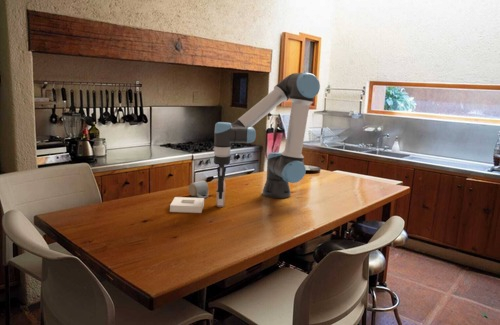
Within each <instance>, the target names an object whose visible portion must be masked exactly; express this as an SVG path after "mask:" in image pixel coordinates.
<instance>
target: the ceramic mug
mask: <svg viewBox="0 0 500 325" xmlns="http://www.w3.org/2000/svg"><path fill="white" fill-rule="evenodd" d="M188 193H189V195H190V196H191V197H192V198H204V200H206V199H207V198H208V197H209V185H208V182H207V181H205V180H199V181H195V182H192V183H190V184H189V186H188Z"/></svg>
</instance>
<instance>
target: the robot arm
mask: <svg viewBox="0 0 500 325" xmlns="http://www.w3.org/2000/svg"><path fill="white" fill-rule="evenodd" d="M320 89H321V84H320V80H319V79H318V77H317V76H316V75H315V74H313V73H310V72H294V73H291V74H289V75H287V76H286V77H284V78H283V79H282V80H280V82H278V83H277V84H276V85H274V87H273V89H272V91H270V92H269V93H268V94H267V95H266V96H264V97H263V98H261V99H260V101H258V102H257V103H255V105H253V106H252V107H251V108H250V109H249V110H247V111H246V112H245V113H244V114H242V115H241V116H240V117H238V118H237V119H236V120H235V121H234V122H232V123H231V122H224V121H218V122H216V123H215V125H214V144H213V145H214V147H213V148H212V150H213V151H214V152H213V154H214V156H213V164H215V165H218V166H217V167H216V172H217V181H218V191H217V190H216V193H217V192H218V200H217V205H223V194H224V190H223V185H224V181H225V177H226V170H227V167H225V166H227V165H230V163H231V157H230V156H231V146H232V145H231V144H239V143H241V144H249V143H254V142H255V140H256V138H257V133H256V129H255V127H254V126H255V125H256V124H257V123H259V121H261V120H262V119H263V118H264V117H266V116H267V115H268V114H269V113H271V112H272V111H273V110H274V109H275V108H277V107H278V106H279V105H280V104H281V103H282V102H288V100H290V102H291V107H290V115H289V119H288V120H289V121H288V127H287V132H286V133H287V134H286V138H285V139H286V140H285V144H284V151H282V152H269V153H268V154H267V159H266V160H267V161H266V162H267V163H266V181H265V183H264V186H263V188H262V195H263V196H265V197H267V198H273V199H285V198H290V197H291V196H292V195H291V194H292V191H291V188H290V184H296V183H298V182H301V181H302V179H303V178H304V177H305V175H306V172H307V169H306V166H305V163H304V159H305V156H304V154H302V152H303V148H304V147H303V145H304V141H305V140H304V139H305V134H306V128H307V121H308V116H309V111H310V106H311V105H312V104H313V103H314V100H315V97H316V96H317V95H318V94H319V92H320Z"/></svg>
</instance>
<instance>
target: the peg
mask: <svg viewBox="0 0 500 325" xmlns="http://www.w3.org/2000/svg"><path fill="white" fill-rule="evenodd" d="M223 190H224V194H223V205H217V200H218V192H216V200H215V201H216V203H215V205H216V207H218V208H224V207H225V204H226V201H225V200H226V198H225V197H226V181H225V180H224V185H223ZM216 191H218V180H217V181H216Z"/></svg>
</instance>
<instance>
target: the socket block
mask: <svg viewBox="0 0 500 325" xmlns="http://www.w3.org/2000/svg"><path fill="white" fill-rule="evenodd" d="M204 206H205V199H204V198H199V197H185V196H184V197H182V196H174V198H173V200H172V201H171V203H170V204H169V212H170V213H190V214H193V213H194V214H197V213H198V214H202V212H203V209H204Z"/></svg>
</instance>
